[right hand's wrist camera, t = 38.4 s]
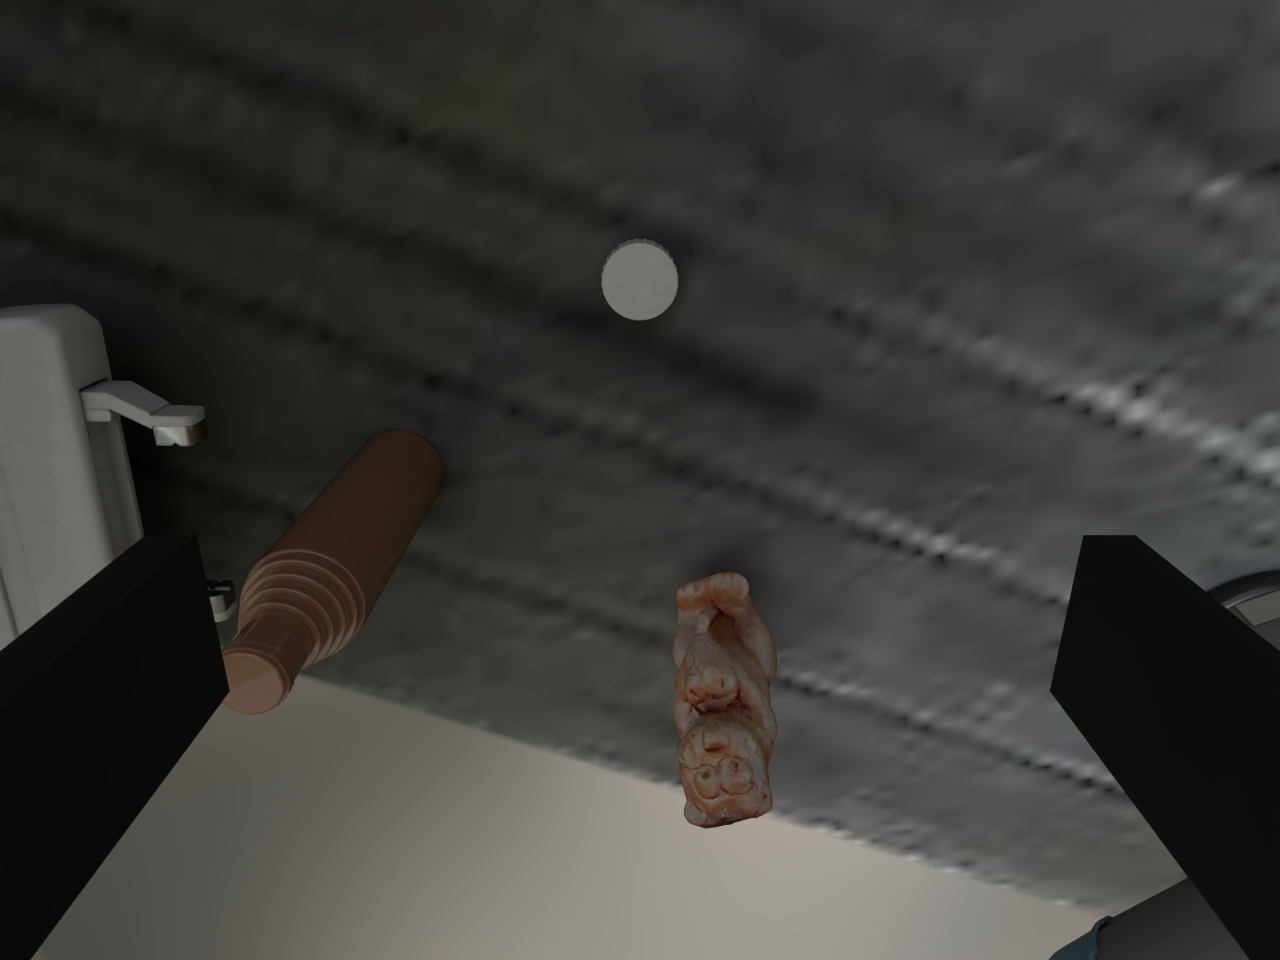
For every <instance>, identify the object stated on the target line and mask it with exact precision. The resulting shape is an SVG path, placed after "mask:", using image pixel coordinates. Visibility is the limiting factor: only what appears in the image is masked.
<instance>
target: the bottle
mask: <svg viewBox="0 0 1280 960" xmlns="http://www.w3.org/2000/svg"><path fill="white" fill-rule="evenodd" d="M443 478H444V471H443V466H442V462H441V460H440V457H439V455H438V454H437V452H436V451H435V449H434V448H433V447H432V446H431V445H430V444H429V443H428V442H427V441H426V440H424V439H423V438H421V437H420V436H418V435H416V434H413V433H410V432H407V431H401V430H390V431H385V432H381V433H379V434H377V435H375V436H373V437H372V438H370V439H369V440H368V441H367V442H366V443H365V444H364V445H363V446H362V447H361V448H360V449H359V450H358V452H357V453H356V454H355V455H354V456H353V457H352V458H351V459H350V460H349V462H348V463H347V464H346V465H345V466H344V467H343V468H342V469H341V470H340V471H339V473H338V474H337V475H336V476H335V477H334V478H333V479H332V480H331V481H330V483H329V484H328V485H327V486H326V487H325V488H324V489H323V490H322V491H321V492H320V494H319V495H318V496H317V497H316V498H315V499H314V500H313V501H312V502H311V504H310V505H309V506H308V507H307V508H306V509H305V510H304V511H303V512H302V513H301V515H300V516H299V517H298V518H297V519H296V520H295V521H294V522H293V523H292V525H291V526H290V527H289V528H288V529H287V530H286V531H285V532H284V533H283V534H282V536H281V537H280V538H279V539H278V540H277V541H276V542H275V543H274V544H273V546H272V547H271V548H270V549H269V550H268V551H267V552H266V553H265V554H264V555H263V557H262V558H261V559H260V560H259V561H258V562H257V563H256V564H255V566H254V567H253V568H252V569H251V571H250V573H249V574H248V577H247V579H246V582H245V583H244V586H243V588H242V591H241V596H240V607H239V618H238V634H237V635H236V637H235V638H234V639H233V640H232V641H231V643H230V644H229V645H227V646H225V647H224V648H223V649H222V650H221V651H222V656H223V661H224V665H225V670H226V674H227V679H228V684H229V688H230V692H229V693H228V694H227V696H226V697H225V698H224V700H223V701H222V702H221V703H223V704H224V705H225V706H227V707H228V708H230V709H232V710H234V711H237V712H240V713H245V714H260V713H264V712H267V711H269V710H271V709H273V708H274V707H276V706H277V705H279V704H280V703H282V702H283V701H284V700H285V698H286V697H287V695H288V693H289V692H290V690H291V689H292V687H293V685H294V680H295V678H296V676H297V675H298V673H299V672H300V671H301V670H303V669H305V668H307V667H309V666H311V665H314V664H316V663H317V662H319V661H321V660H324V659H326V658H327V657H330V656H332V655H334V654H336V653H338V652H339V651H341V650H342V649H343V648H344V647H346V645H347V644H348V643H350V642H351V641H352V640H353V639H354V638H355V637H356V636H357V635H358V633H359V632H360V630H361V628H362V627H363V625H364V623H365V621H366V620H367V618H368V616H369V614H370V613H371V611H372V609H373V607H374V606H375V604H376V602H377V600H378V599H379V597H380V595H381V593H382V592H383V590H384V588H385V586H386V585H387V583H388V581H389V579H390V577H391V576H392V574H393V572H394V570H395V569H396V567H397V565H398V563H399V562H400V560H401V558H402V556H403V555H404V553H405V551H406V549H407V548H408V546H409V544H410V542H411V541H412V539H413V537H414V535H415V534H416V532H417V530H418V528H419V527H420V525H421V523H422V521H423V520H424V518H425V516H426V514H427V513H428V511H429V509H430V507H431V506H432V504H433V502H434V500H435V499H436V497H437V495H438V493H439V491H440V489H441V487H442V484H443Z"/></svg>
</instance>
